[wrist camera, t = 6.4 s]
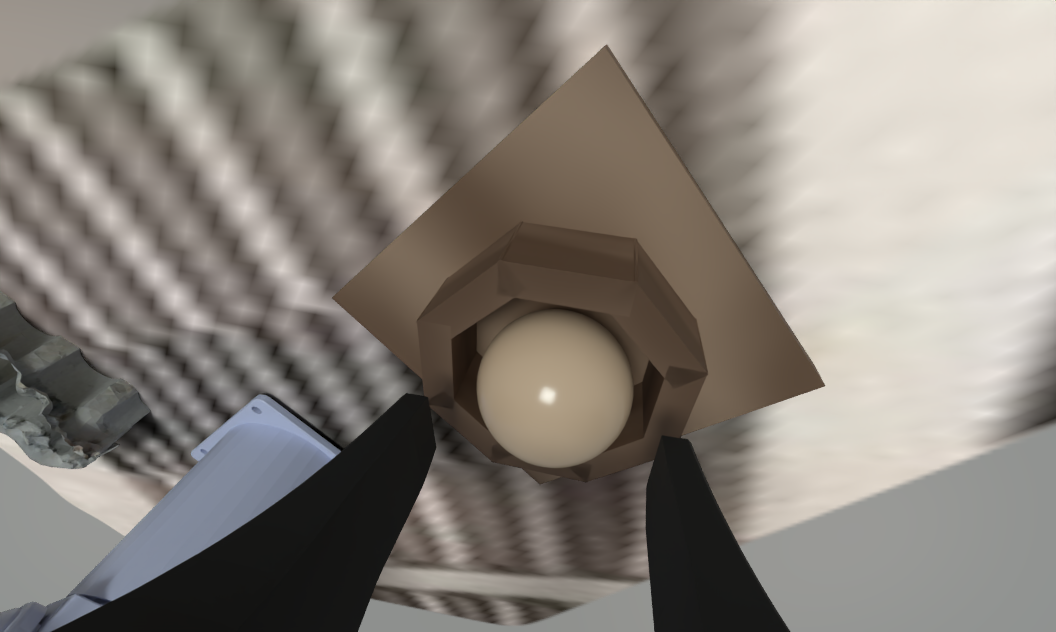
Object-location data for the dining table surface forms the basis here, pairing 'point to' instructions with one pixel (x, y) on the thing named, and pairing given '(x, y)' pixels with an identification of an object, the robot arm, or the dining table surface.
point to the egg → (555, 388)
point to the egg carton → (58, 397)
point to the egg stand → (584, 275)
